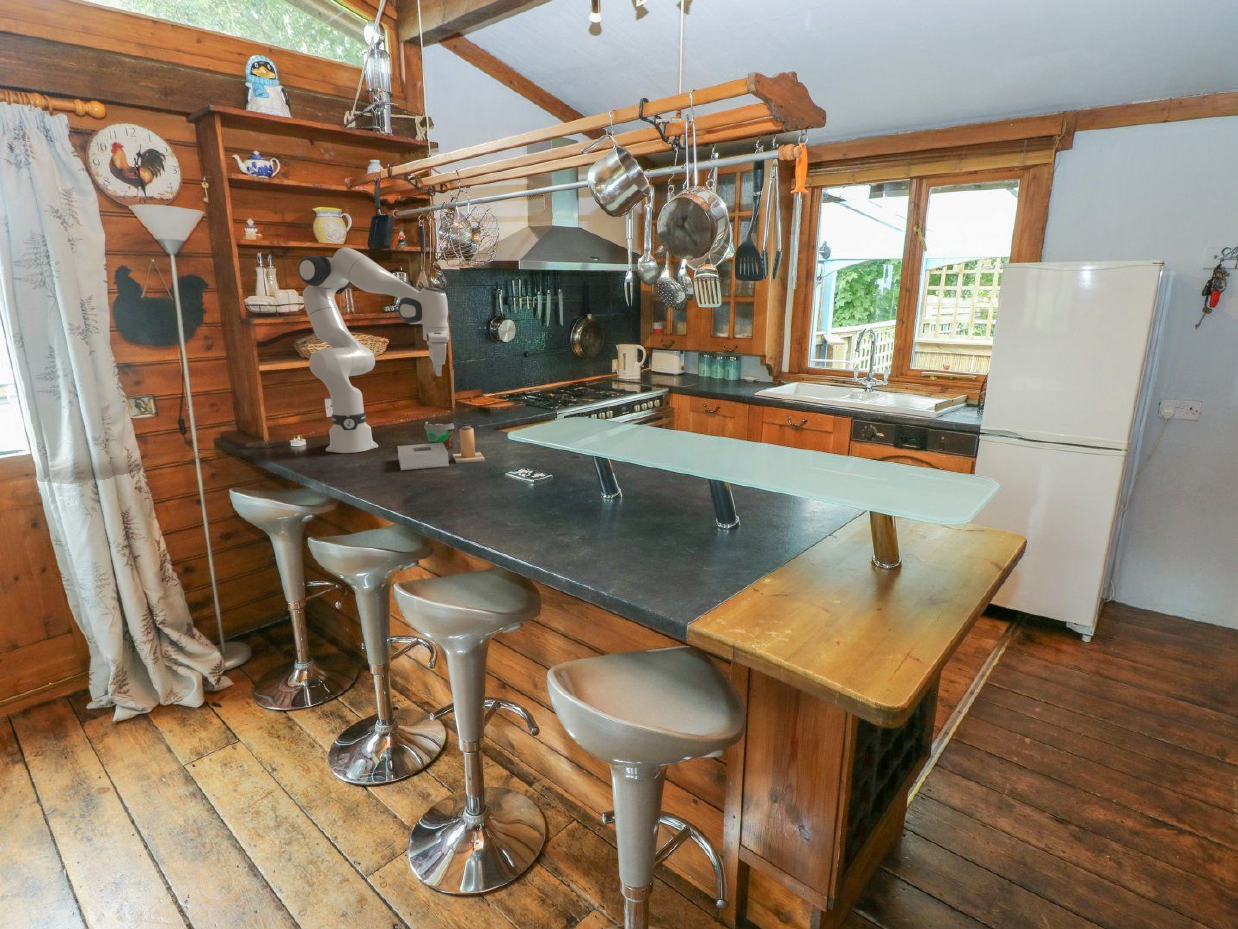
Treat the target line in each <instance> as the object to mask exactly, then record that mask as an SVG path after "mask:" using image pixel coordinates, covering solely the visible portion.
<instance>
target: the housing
mask: <svg viewBox="0 0 1238 929" xmlns="http://www.w3.org/2000/svg"><path fill="white" fill-rule="evenodd" d="M397 455H398V462H399V466H400V471H408V470H409V471H410V470H419V469H430V468H431V469H432V468H433V469H434V468H443V467H449V466H450V464H449V460H450V459H449V451H448V449H447V450H446V448H445V446H444V444H443V443H432V444H429V443H422V444H410V445H409V444H408V445H397Z"/></svg>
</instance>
